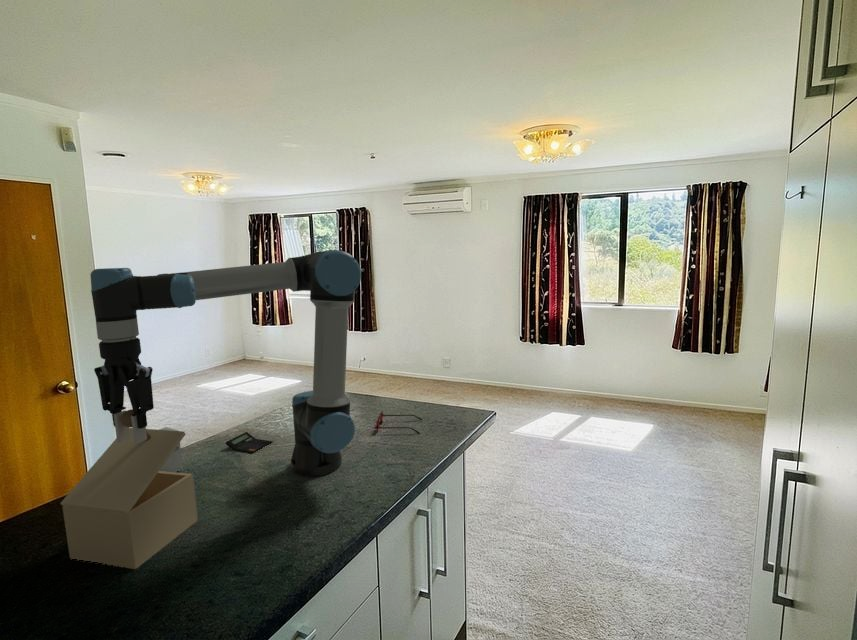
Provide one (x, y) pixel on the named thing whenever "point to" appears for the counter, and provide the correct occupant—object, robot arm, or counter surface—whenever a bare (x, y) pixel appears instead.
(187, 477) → the carton
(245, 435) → the calculator
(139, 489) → the flap
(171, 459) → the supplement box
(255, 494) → the counter surface
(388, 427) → the glasses
